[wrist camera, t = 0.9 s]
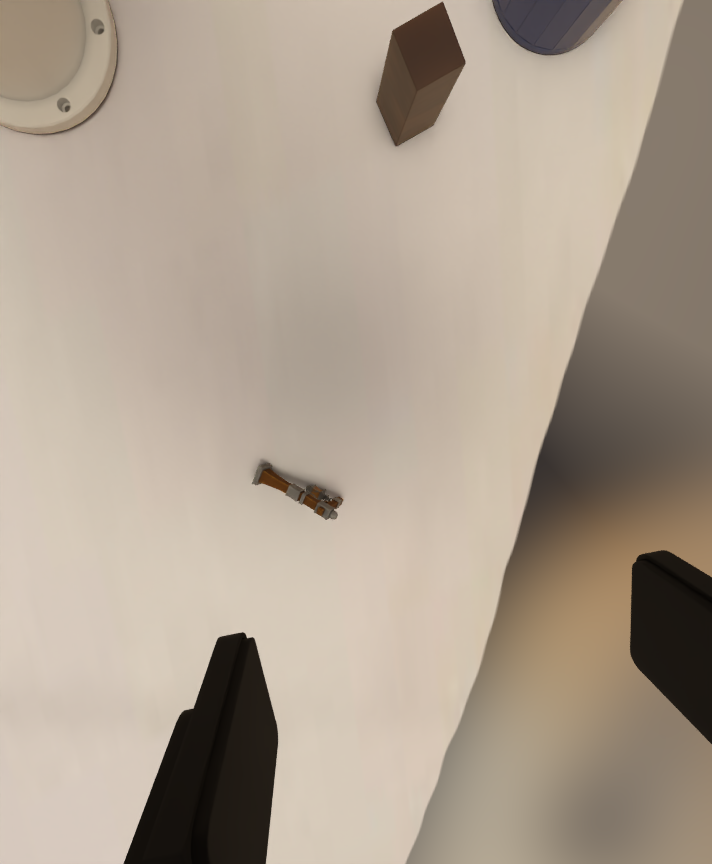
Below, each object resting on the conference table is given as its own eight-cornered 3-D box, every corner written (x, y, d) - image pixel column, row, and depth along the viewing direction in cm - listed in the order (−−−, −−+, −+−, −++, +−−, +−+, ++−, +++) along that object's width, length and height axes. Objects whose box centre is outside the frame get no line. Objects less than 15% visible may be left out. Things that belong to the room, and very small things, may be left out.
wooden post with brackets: (346, 514, 36) (329, 529, 32) (275, 475, 38) (250, 484, 34) (354, 497, 36) (337, 510, 31) (282, 459, 38) (257, 466, 33)
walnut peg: (375, 101, 30) (392, 29, 23) (415, 79, 30) (443, 0, 23) (395, 147, 30) (417, 90, 24) (434, 125, 30) (466, 62, 24)
